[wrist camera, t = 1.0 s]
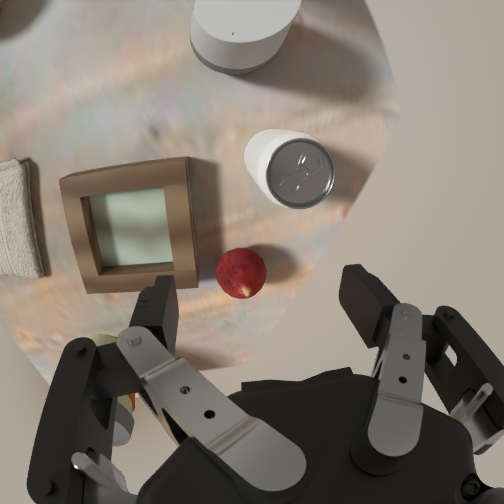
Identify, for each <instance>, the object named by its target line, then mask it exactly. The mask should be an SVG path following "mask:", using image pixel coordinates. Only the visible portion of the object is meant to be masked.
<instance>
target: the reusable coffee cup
mask: <svg viewBox="0 0 504 504" xmlns="http://www.w3.org/2000/svg"><path fill="white" fill-rule="evenodd" d="M90 339H92V340H93V341H94V342H95V344H96V346H101V345H105V344H110V343H113V342H116V338H114V337H112V336H108V335H102V334H100V335H94V336H92V337H90ZM134 408H135V393H132V394H128V395H123V396H119V397H118V400H117V407H116V415H115V424H114V433H113V443H112V446H122V445H125V444H127V443H128V442H129V440H130V437H131V434H132V430H133V426H134V419H133V416H132V412H133V411H134Z"/></svg>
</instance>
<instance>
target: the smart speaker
mask: <svg viewBox="0 0 504 504" xmlns="http://www.w3.org/2000/svg"><path fill="white" fill-rule="evenodd" d="M301 2H302V0H196V1H195V5H194V9H193V14H192V18H191V23H190V42H191V46H192V49H193V51H194V53H195V54H196V56H197V57H198V59H199V60H200V61H201V62H202V63H203V64H205V65H206V66H207V67H209V68H211V69H213V70H215V71H217V72H220V73H225V74H245V73H249V72H252V71H255V70H257V69H259V68H261V67H262V66H264V65H265V64H267V63H268V62H269V61H270V60H271V59H272V58H273V57H274V56H275V55H276V53H277V52H278V50H279V49H280V47H281V46H282V44H283V41H284V39H285V37H286V35H287V33H288V31H289V29H290V27H291V26H292V23H293V21H294V19H295V17H296V15H297V13H298V11H299V9H300V6H301Z"/></svg>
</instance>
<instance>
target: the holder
mask: <svg viewBox="0 0 504 504" xmlns="http://www.w3.org/2000/svg"><path fill="white" fill-rule="evenodd" d="M59 184H60V190H61V195H62V201H63V206H64V211H65V216H66V220H67V225H68V229H69V233H70V237H71V241H72V245H73V249H74V253H75V256H76V260H77V263H78V267H79V270H80V273H81V276H82V280H83V283H84V286H85V289H86V292H87V294H93V293H116V292H137V291H143V290H144V289H145V288H146V287H151V286H154V283H155V280H156V277H157V275H173V276H174V280H175V287H176V289H186V288H198V283H199V269H198V260H197V252H196V243H195V233H194V224H193V213H192V202H191V191H190V178H189V164H188V156H187V157H177V158H167V159H158V160H150V161H142V162H135V163H128V164H122V165H115V166H109V167H103V168H97V169H92V170H87V171H81V172H76V173H72V174H69V175H67V176H65V177H63V178H61V179H59Z"/></svg>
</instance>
